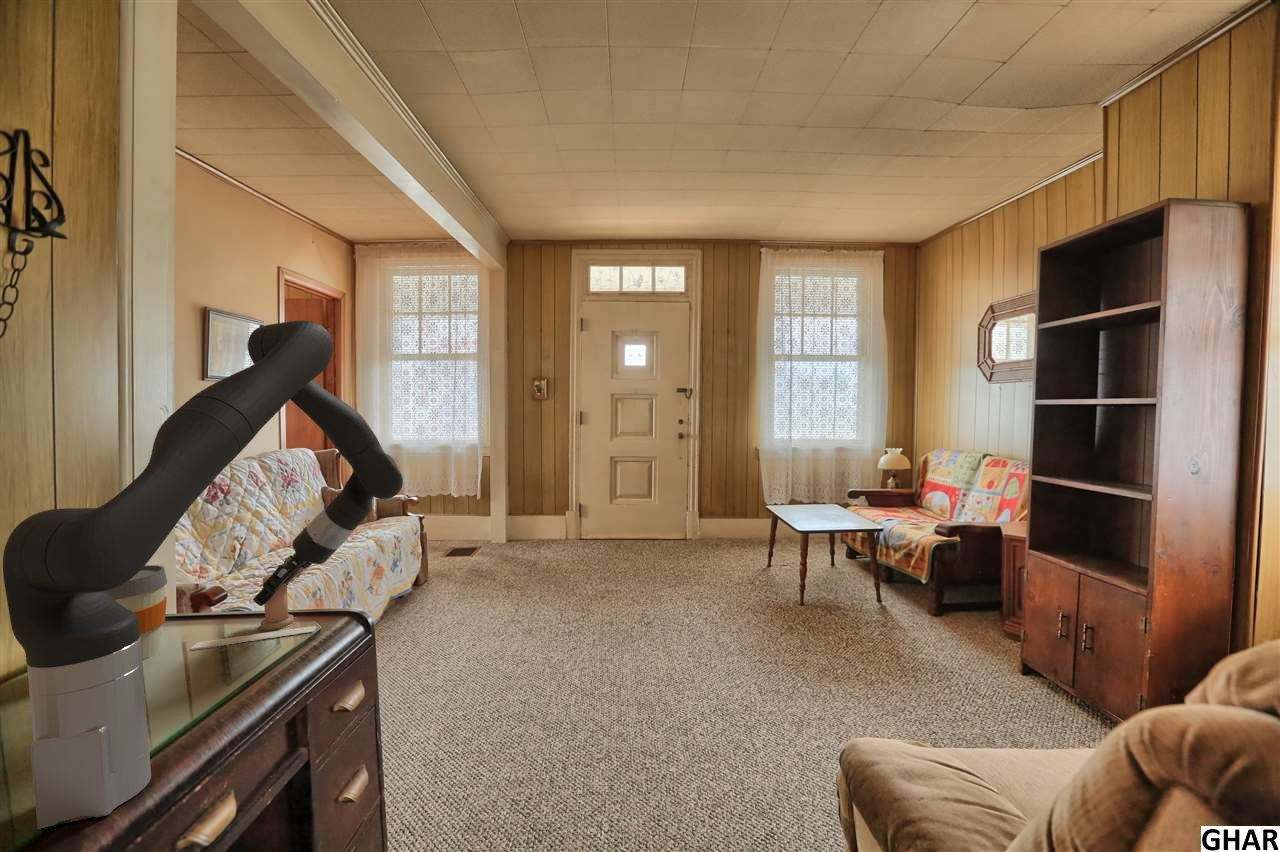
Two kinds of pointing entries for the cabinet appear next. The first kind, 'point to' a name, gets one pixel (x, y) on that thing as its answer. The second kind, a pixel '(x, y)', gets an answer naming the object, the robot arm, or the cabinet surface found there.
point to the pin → (277, 610)
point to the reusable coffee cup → (145, 604)
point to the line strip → (250, 637)
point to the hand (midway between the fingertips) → (265, 597)
